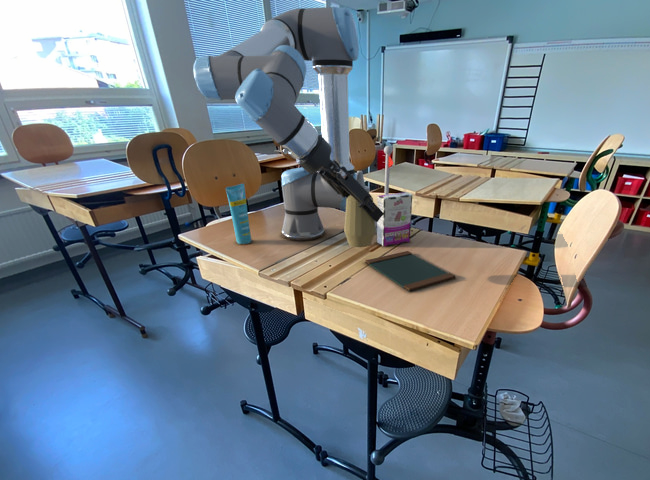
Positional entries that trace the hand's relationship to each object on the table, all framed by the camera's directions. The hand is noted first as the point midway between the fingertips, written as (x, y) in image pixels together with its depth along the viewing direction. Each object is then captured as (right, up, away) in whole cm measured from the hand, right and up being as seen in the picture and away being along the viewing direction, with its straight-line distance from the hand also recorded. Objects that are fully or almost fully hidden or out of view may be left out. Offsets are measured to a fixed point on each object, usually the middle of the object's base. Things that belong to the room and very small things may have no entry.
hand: (372, 213), depth 86 cm
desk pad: (+11, -13, +12) cm, 21 cm away
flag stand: (+6, +6, +46) cm, 47 cm away
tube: (-44, -2, +32) cm, 55 cm away
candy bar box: (+8, -2, +33) cm, 34 cm away
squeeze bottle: (-3, -7, +2) cm, 8 cm away
